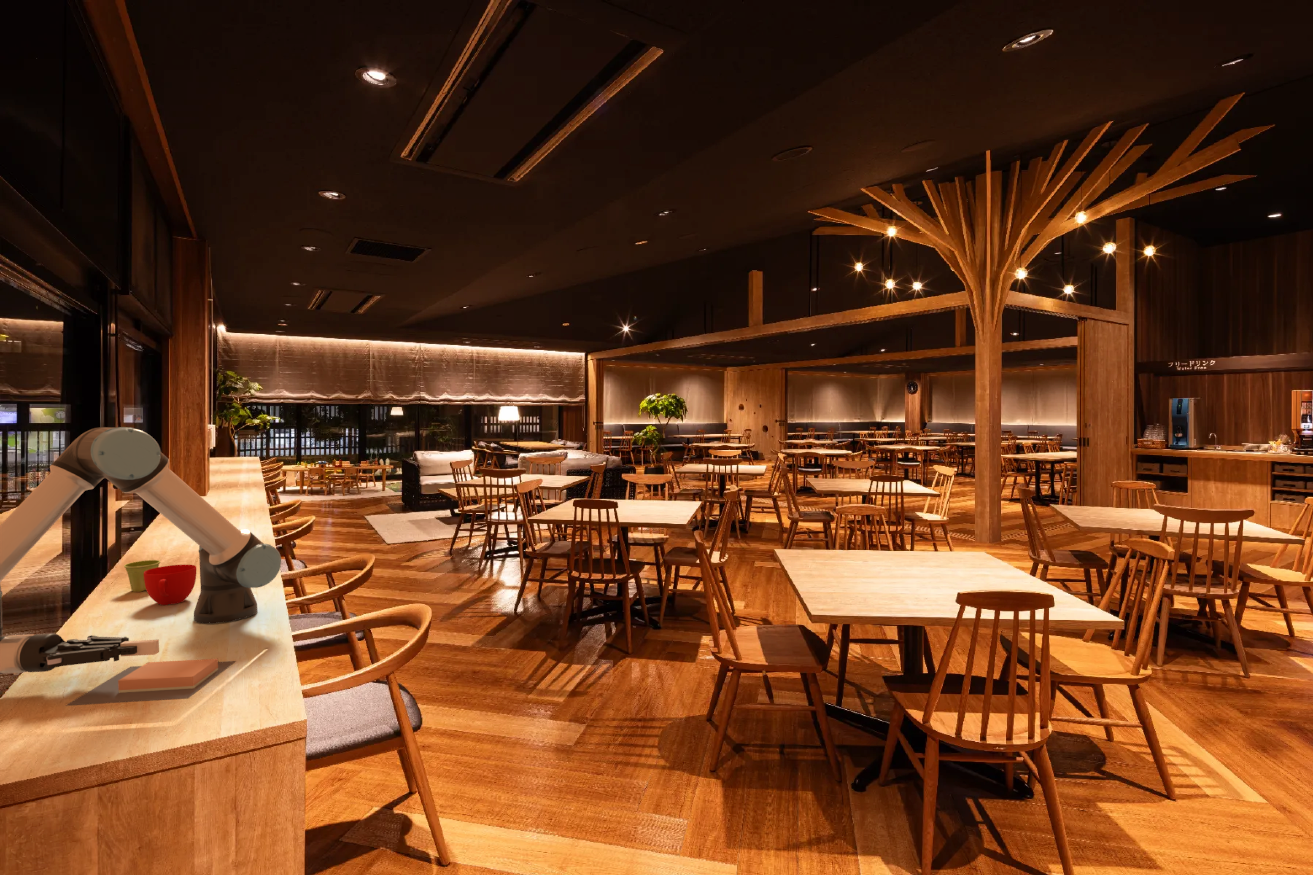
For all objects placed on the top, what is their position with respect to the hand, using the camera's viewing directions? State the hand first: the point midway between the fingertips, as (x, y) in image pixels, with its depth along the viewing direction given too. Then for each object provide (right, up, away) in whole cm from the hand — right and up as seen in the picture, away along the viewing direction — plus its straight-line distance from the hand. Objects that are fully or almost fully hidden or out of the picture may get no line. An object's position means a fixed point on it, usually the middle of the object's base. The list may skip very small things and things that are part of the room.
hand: (156, 646), depth 141 cm
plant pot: (-61, -5, +76) cm, 97 cm away
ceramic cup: (-41, -6, +60) cm, 73 cm away
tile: (-5, -6, 0) cm, 8 cm away
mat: (0, -8, 0) cm, 8 cm away
